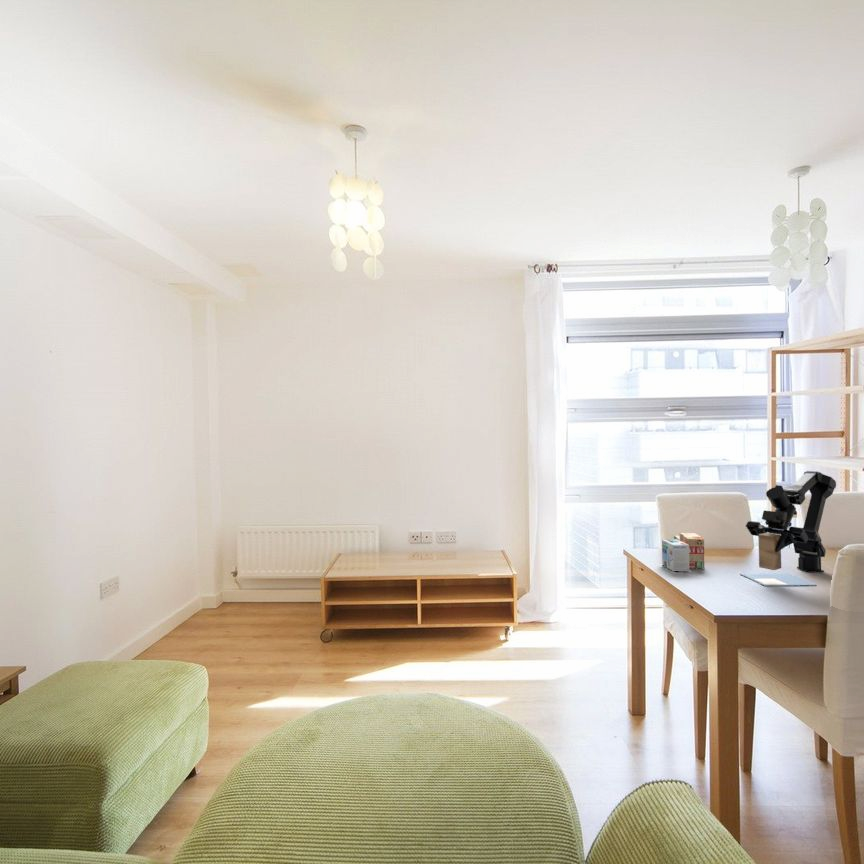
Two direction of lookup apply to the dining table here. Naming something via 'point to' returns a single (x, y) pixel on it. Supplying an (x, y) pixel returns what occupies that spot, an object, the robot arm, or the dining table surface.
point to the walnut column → (769, 551)
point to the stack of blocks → (693, 548)
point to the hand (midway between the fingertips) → (767, 550)
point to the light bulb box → (675, 555)
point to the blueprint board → (777, 579)
